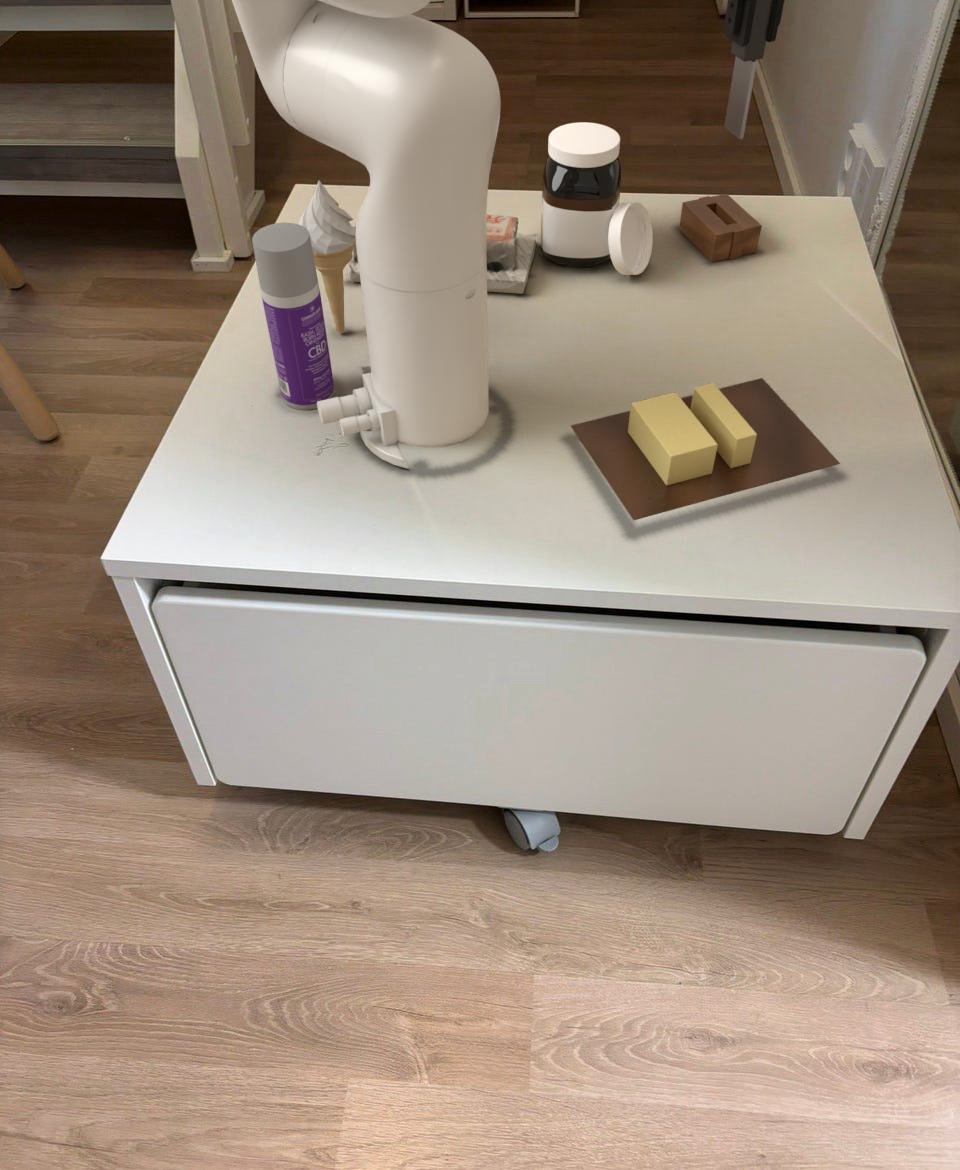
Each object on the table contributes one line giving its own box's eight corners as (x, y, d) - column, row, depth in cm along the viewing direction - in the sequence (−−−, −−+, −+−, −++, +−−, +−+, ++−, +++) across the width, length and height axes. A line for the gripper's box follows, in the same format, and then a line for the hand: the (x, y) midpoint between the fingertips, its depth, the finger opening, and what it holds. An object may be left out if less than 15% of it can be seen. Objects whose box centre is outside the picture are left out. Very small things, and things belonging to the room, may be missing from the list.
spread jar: (543, 223, 110) (546, 113, 101) (649, 227, 109) (662, 116, 100) (536, 284, 102) (539, 170, 93) (651, 289, 101) (665, 174, 92)
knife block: (712, 263, 104) (717, 236, 101) (677, 228, 109) (681, 201, 106) (757, 253, 105) (763, 226, 103) (721, 219, 110) (725, 192, 107)
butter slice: (730, 469, 80) (736, 439, 78) (688, 416, 85) (693, 387, 83) (750, 463, 81) (757, 433, 79) (708, 411, 85) (713, 382, 83)
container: (325, 412, 88) (300, 254, 77) (274, 407, 89) (241, 249, 78) (341, 380, 92) (318, 224, 80) (291, 375, 92) (262, 219, 81)
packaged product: (340, 240, 99) (364, 190, 105) (346, 284, 102) (369, 234, 109) (526, 251, 96) (538, 200, 103) (525, 297, 100) (537, 245, 107)
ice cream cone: (358, 354, 94) (338, 199, 83) (301, 345, 95) (274, 191, 84) (378, 320, 98) (362, 168, 87) (323, 313, 99) (300, 161, 88)
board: (631, 534, 78) (633, 520, 77) (569, 439, 86) (570, 425, 84) (836, 477, 82) (840, 463, 81) (759, 391, 89) (762, 377, 88)
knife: (732, 140, 97) (760, -24, 87) (716, 128, 99) (742, -35, 89) (750, 137, 97) (780, -27, 87) (735, 124, 99) (762, -38, 89)
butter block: (666, 486, 79) (671, 456, 77) (627, 432, 84) (630, 402, 82) (712, 473, 80) (718, 444, 78) (671, 421, 85) (675, 391, 82)
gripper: (725, -200, 74) (690, 67, 88) (911, -218, 78) (849, 41, 91) (677, -219, 79) (651, 36, 93) (854, -235, 83) (804, 13, 96)
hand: (749, 37), depth 92 cm, fingers closed on knife, 2 cm apart
